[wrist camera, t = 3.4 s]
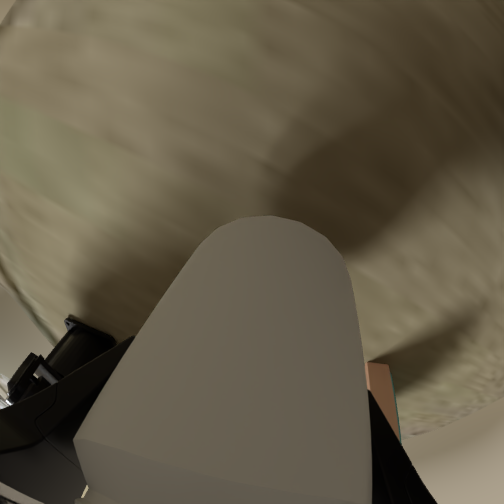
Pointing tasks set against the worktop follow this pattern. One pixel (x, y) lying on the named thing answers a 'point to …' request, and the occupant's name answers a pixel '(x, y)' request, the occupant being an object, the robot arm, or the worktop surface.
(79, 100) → the worktop surface
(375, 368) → the tile
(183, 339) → the can
